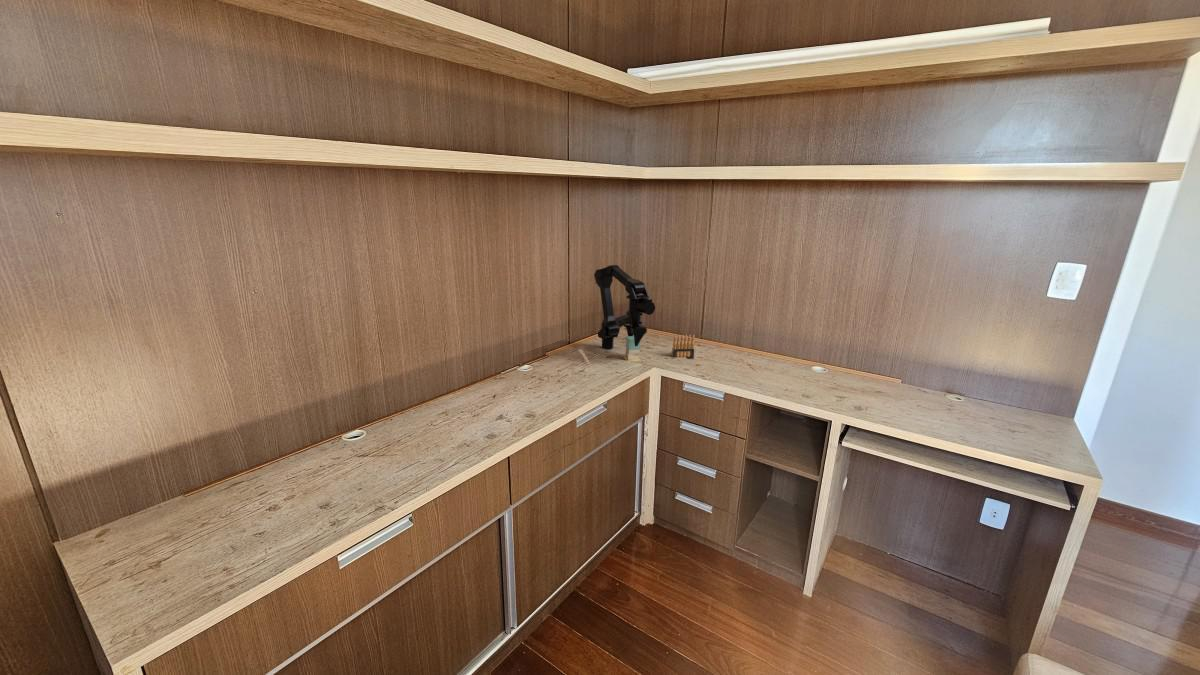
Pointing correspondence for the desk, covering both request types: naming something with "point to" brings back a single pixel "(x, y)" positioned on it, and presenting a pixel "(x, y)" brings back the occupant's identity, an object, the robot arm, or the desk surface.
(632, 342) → the teal block
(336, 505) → the desk surface
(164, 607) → the desk surface
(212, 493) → the desk surface
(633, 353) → the maple block
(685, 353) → the ammunition clip
